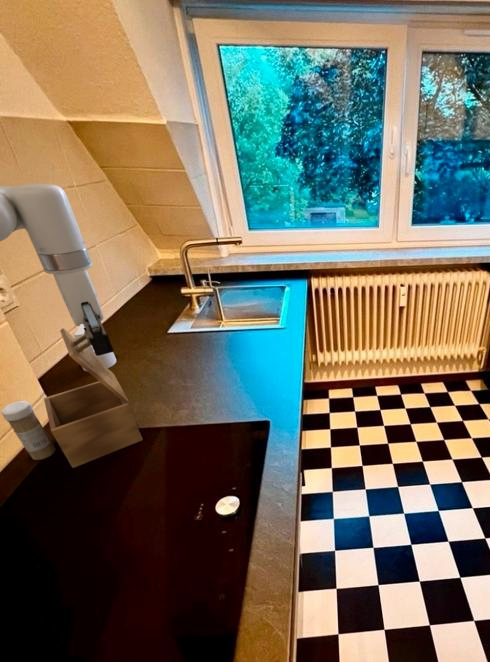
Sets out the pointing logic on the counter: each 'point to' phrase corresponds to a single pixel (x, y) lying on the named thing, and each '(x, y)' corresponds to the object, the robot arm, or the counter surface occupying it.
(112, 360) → the cylinder with rectangular tab
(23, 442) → the sprinkles bottle
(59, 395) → the chest
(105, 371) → the lid
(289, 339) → the counter surface
